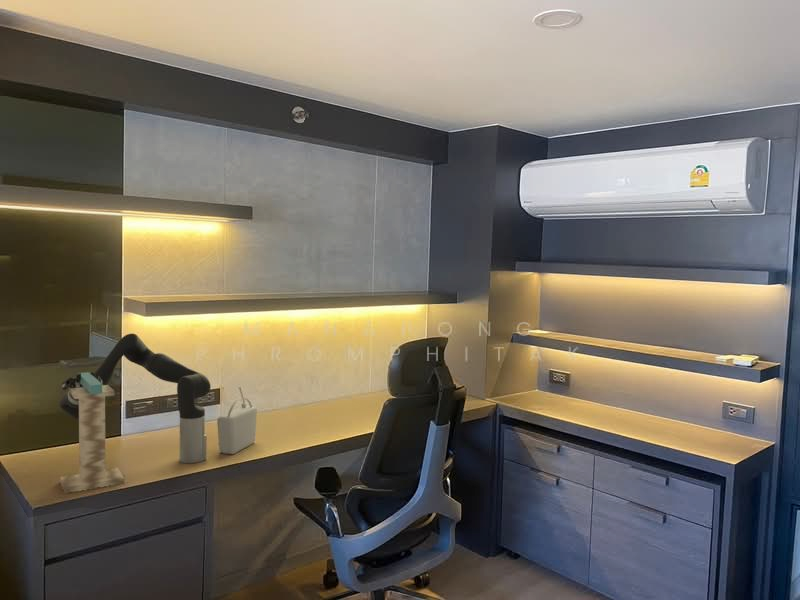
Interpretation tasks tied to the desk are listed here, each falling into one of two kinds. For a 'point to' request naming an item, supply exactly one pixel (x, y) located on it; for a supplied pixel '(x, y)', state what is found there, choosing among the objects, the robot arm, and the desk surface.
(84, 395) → the stand
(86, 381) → the bar
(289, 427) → the desk surface
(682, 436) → the desk surface
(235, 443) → the white handbag
